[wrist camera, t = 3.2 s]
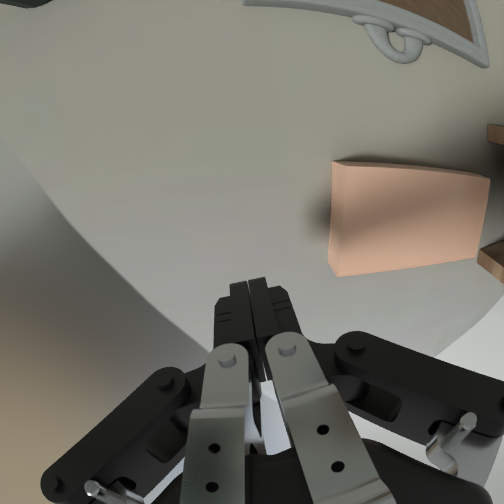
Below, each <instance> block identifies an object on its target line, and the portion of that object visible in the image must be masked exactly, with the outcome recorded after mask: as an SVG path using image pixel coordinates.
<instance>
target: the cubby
mask: <svg viewBox="0 0 504 504" xmlns="http://www.w3.org/2000/svg"><path fill="white" fill-rule="evenodd" d="M487 131H488V141H491V142H495V143H498V144H502V145H504V127H501V126H495V125H487ZM477 263H478V264H479V265H481V266H482V267H483V268H484V269H486V270H487V271H488V272H489V273H491V274H492V275H493V276H494V277H495V278H497V279H498V280H499V281H500V282H501V283H503V284H504V241H501V242H499V243H496V244H493V245H491V246H488V247H485V248H483V249H480V250H479V255H478V260H477Z"/></svg>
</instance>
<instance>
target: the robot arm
mask: <svg viewBox="0 0 504 504" xmlns="http://www.w3.org/2000/svg"><path fill="white" fill-rule="evenodd" d="M248 284H249V288H248ZM249 290H250V292H249ZM214 315H215V317H214V348H213V350H212V351H211V352H210V353H209V355H208V357H207V360H206V363H205V364H204V365H203V366H201V367H199V368H197V369H195V370H192V371H190V372H187V373H185V374H184V373H183V372H182V371H181V370H180V369H178V368H175V367H165V368H162V369H159V370H157V371H156V372H154V373H153V374H152V375H151V376H150V377H149V378H148V379H147V380H145V381H144V383H142V384H141V385H140V386H139V387H138V388H137V389H136V390H135V391H134V392H133V393H132V394H130V396H128V397H127V398H126V399H125V400H124V401H123V402H122V403H121V404H120V405H118V406H117V407H116V408H115V409H114V410H113V411H112V412H111V413H110V414H109V415H108V416H106V418H104V419H103V420H102V421H101V422H100V423H99V424H98V425H97V426H96V427H94V428H93V429H92V430H91V431H90V432H89V433H88V434H87V435H86V436H84V437H83V438H82V439H81V440H80V441H79V442H78V443H76V444H75V445H74V446H73V447H72V448H71V449H70V450H68V451H67V452H66V453H65V454H64V455H63V456H62V457H61V458H59V459H58V460H57V461H56V462H55V463H54V464H53V465H51V466H50V467H49V468H48V469H47V470H46V471H45V472H44V473H43V475H42V478H41V484H40V485H41V490H42V493H43V494H44V496H45V497H46V498H47V499H48V500H49V501H51V502H53V503H55V504H144V500H143V498H144V497H145V496H146V495H147V494H148V493H150V491H152V490H153V489H154V488H155V486H157V484H159V483H160V482H161V481H162V479H164V477H166V475H168V474H169V472H170V471H171V470H172V469H173V468H174V467H175V466H176V465H177V464H178V463H179V462H180V461H181V460H182V459H183V458H184V457H185V460H184V469H183V472H182V473H181V474H179V475H178V476H177V477H176V478H175V479H174V480H173V481H172V482H171V483H170V484H169V485H168V486H167V487H166V488H165V489H164V490H163V492H162V493H161V494H160V495H159V496H158V497H157V498H156V499H155V500H154V501H153V502H152V503H151V504H493V503H492V500H491V497H490V495H489V493H488V492H487V491H486V490H485V489H484V488H483V487H484V485H485V483H486V481H487V478H488V476H489V474H490V471H491V469H492V466H493V464H494V461H495V458H496V455H497V453H498V450H499V447H500V444H501V441H502V437H503V435H504V381H501V380H498V379H495V378H492V377H489V376H486V375H482V374H479V373H476V372H473V371H470V370H467V369H465V368H462V367H459V366H456V365H453V364H450V363H447V362H444V361H441V360H439V359H436V358H433V357H430V356H427V355H425V354H422V353H419V352H416V351H414V350H411V349H408V348H405V347H403V346H400V345H397V344H395V343H392V342H389V341H387V340H384V339H382V338H379V337H376V336H374V335H371V334H369V333H366V332H362V331H352V332H348V333H345V334H343V335H342V336H340V337H339V338H338V340H337V341H336V343H335V344H321V343H315V342H312V341H310V340H308V339H307V338H306V337H304V335H303V334H302V332H301V329H300V326H299V323H298V321H297V318H296V315H295V312H294V309H293V307H292V304H291V301H290V298H289V295H288V292H287V291H286V290H285V289H283V288H282V287H281V286H276V287H271V288H268V287H267V283H266V279H265V277H261V278H256V279H252V280H248V283H247V281H242V282H237V283H232V284H230V296H227V297H222V298H219V300H218V302H217V303H216V305H215V311H214ZM263 364H264V366H263ZM264 368H265V372H266V376H267V379H268V381H269V380H272V381H273V385H274V389H275V394H276V398H277V401H278V404H279V408H280V411H281V414H282V418H283V421H284V425H285V428H286V431H287V434H288V438H289V441H290V445H291V448H289V449H287V450H285V451H282V452H280V453H278V454H275V455H267V453H266V448H265V442H264V428H263V408H262V397H261V394H262V393H261V385H260V382H264V381H266V378H265V372H264ZM348 411H350V412H352V413H354V414H356V415H358V416H360V417H362V418H364V419H366V420H368V421H370V422H372V423H374V424H376V425H379V426H381V427H383V428H385V429H387V430H389V431H391V432H394V433H396V434H398V435H400V436H403V437H405V438H407V439H410V440H412V441H415V442H417V443H420V444H422V445H425V446H426V456H427V458H428V459H429V461H430V462H431V463H432V464H434V465H436V466H437V467H439V468H440V470H438V469H436V468H434V467H431V466H429V465H427V464H424V463H422V462H420V461H417V460H415V459H413V458H411V457H409V456H407V455H405V454H403V453H400V452H398V451H396V450H394V449H392V448H390V447H388V446H386V445H384V444H382V443H380V442H377V441H374V440H370V439H364V438H361V437H360V435H359V433H358V431H357V429H356V427H355V425H354V423H353V421H352V419H351V417H350V414H349V412H348Z"/></svg>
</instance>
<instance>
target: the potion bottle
mask: <svg viewBox="0 0 504 504" xmlns="http://www.w3.org/2000/svg"><path fill="white" fill-rule="evenodd" d="M48 1H50V0H0V3H1V4H7V5H12V6H17V7H22V8H35V7H38V6H40V5H42V4H44V3H46V2H48Z"/></svg>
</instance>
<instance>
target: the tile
mask: <svg viewBox="0 0 504 504" xmlns="http://www.w3.org/2000/svg"><path fill="white" fill-rule="evenodd" d="M490 180H491V179H489V178H486V177H484V176H481V175H478V174H476V173H471V172H464V171H458V170H450V169H442V168H434V167H425V166H415V165H403V164H390V163H372V162H346V161H332V198H331V219H330V235H329V249H328V263H329V265H330V266H331V268H332V269H333V271H334V272H335V273H336V275H337V276H338V277H342V276H350V275H359V274H367V273H374V272H382V271H390V270H397V269H404V268H411V267H418V266H425V265H431V264H438V263H444V262H451V261H457V260H463V259H469V258H475V256H476V253H477V249H478V245H479V241H480V237H481V233H482V228H483V223H484V218H485V213H486V208H487V202H488V195H489V188H490Z"/></svg>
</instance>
